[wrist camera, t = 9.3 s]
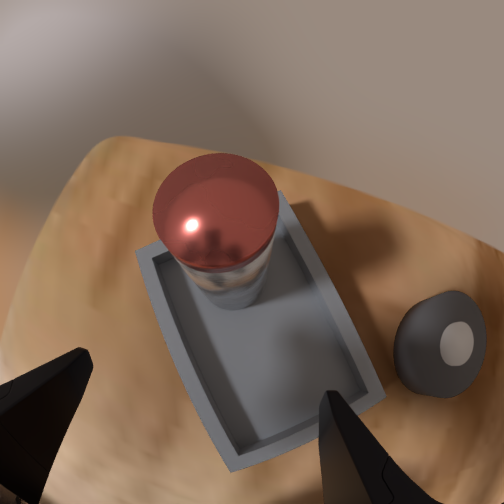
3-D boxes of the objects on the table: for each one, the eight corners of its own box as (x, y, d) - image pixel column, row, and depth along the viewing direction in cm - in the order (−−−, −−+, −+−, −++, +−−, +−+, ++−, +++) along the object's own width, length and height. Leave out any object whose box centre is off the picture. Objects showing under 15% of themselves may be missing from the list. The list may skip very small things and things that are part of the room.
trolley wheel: (473, 357, 17) (500, 355, 14) (413, 413, 16) (438, 420, 12) (443, 282, 19) (468, 270, 16) (377, 330, 18) (401, 325, 15)
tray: (371, 392, 17) (386, 396, 14) (233, 458, 15) (230, 472, 13) (277, 207, 22) (280, 190, 19) (147, 262, 20) (134, 251, 18)
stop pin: (265, 311, 18) (280, 266, 8) (198, 309, 18) (143, 262, 8) (265, 248, 19) (277, 154, 10) (203, 247, 19) (164, 155, 10)
